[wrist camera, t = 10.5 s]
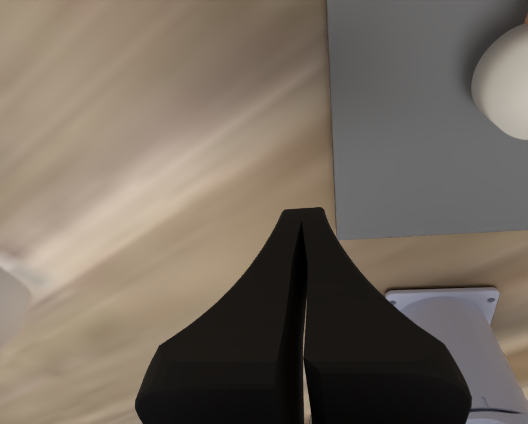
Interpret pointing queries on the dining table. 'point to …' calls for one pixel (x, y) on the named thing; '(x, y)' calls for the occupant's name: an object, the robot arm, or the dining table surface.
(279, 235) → the robot arm
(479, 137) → the flat gray plate
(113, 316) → the dining table surface
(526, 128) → the ball on stick
